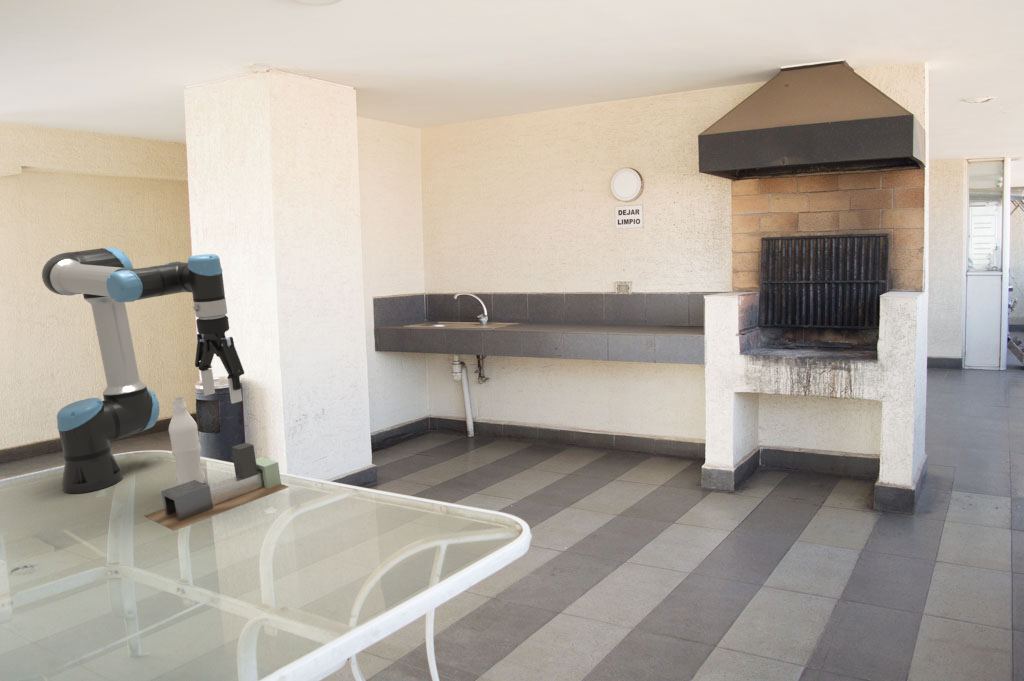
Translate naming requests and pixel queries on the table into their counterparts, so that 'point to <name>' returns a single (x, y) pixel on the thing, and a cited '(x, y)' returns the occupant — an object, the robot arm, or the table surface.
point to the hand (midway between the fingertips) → (223, 398)
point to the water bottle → (185, 444)
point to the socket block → (269, 472)
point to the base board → (175, 524)
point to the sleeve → (187, 499)
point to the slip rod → (239, 476)
